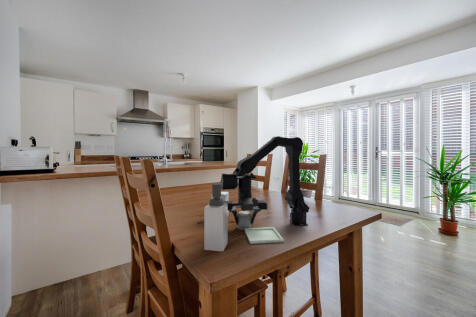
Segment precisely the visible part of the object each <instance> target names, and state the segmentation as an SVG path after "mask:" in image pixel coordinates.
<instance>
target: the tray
mask: <svg viewBox="0 0 476 317" xmlns="http://www.w3.org/2000/svg"><path fill="white" fill-rule="evenodd" d="M244 233H245V236H246V237H247V239H248V242H249V244H250V245H252V244H256V245H257V244H274V243H285V242H284V240H285V239H284V238H283V237H282V236H281V234H280V233H279V232H278V230H277V228H276V227H275V226H273V227H272V226H269V227H251V228H245V230H244Z"/></svg>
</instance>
